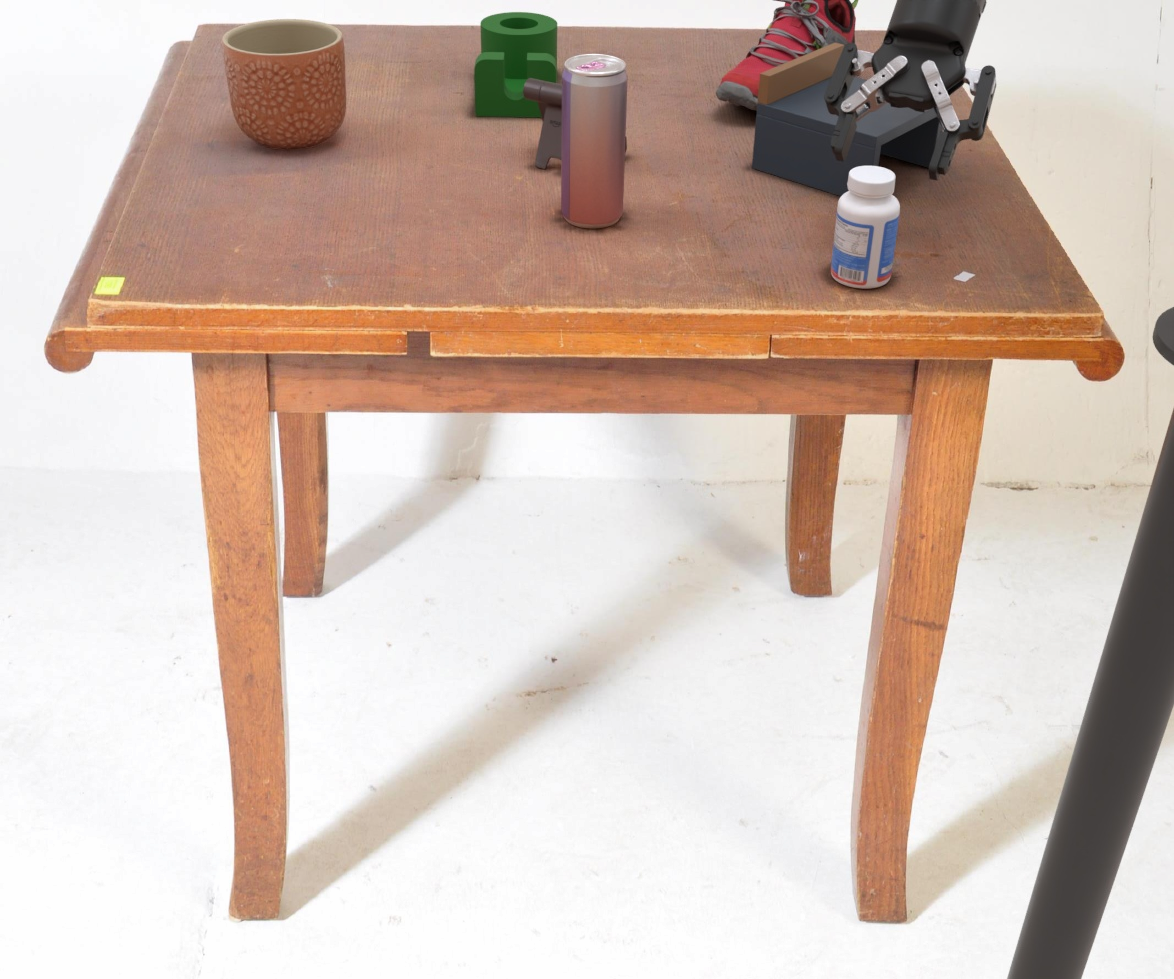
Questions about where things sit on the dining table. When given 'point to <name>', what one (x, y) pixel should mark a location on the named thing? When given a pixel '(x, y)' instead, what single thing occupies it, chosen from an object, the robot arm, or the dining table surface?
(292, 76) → the planter
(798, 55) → the athletic shoe
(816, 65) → the shelf
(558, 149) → the tablet stand
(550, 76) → the slotted cylinder bracket
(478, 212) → the dining table surface
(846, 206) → the pill bottle
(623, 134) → the beverage can
